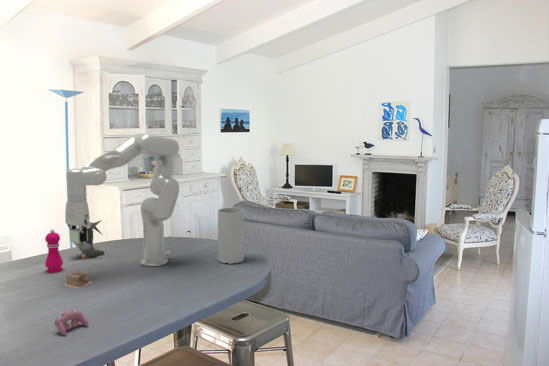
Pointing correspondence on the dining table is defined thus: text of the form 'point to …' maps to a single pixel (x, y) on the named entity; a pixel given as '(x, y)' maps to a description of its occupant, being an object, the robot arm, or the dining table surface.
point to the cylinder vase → (230, 235)
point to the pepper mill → (53, 253)
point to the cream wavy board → (78, 286)
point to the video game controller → (70, 315)
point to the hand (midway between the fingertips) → (78, 240)
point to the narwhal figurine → (89, 243)
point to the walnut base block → (77, 278)
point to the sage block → (75, 235)
